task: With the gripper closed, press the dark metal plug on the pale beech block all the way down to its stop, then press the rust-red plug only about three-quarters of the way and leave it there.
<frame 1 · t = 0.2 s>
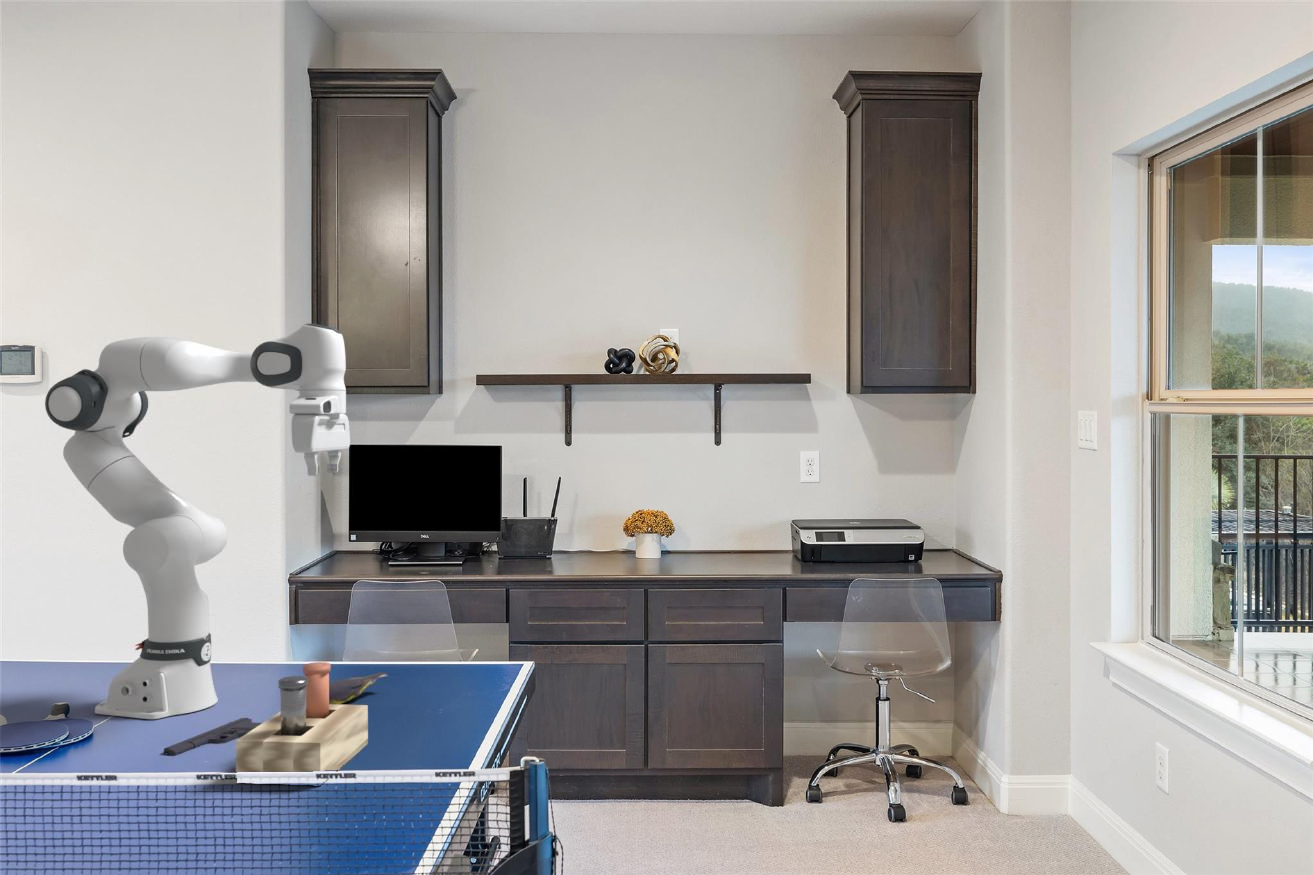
hand: (323, 474, 190), 48 cm above the table, tool pointing down, fingers open, 8 cm apart
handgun: (226, 745, 172), on the table
metal plug: (293, 709, 157), point 10 cm above the table, slide at 0.0 cm
beech block: (305, 762, 161), on the table
bird model: (346, 703, 196), on the table
rust plug: (316, 693, 166), point 10 cm above the table, slide at 0.0 cm
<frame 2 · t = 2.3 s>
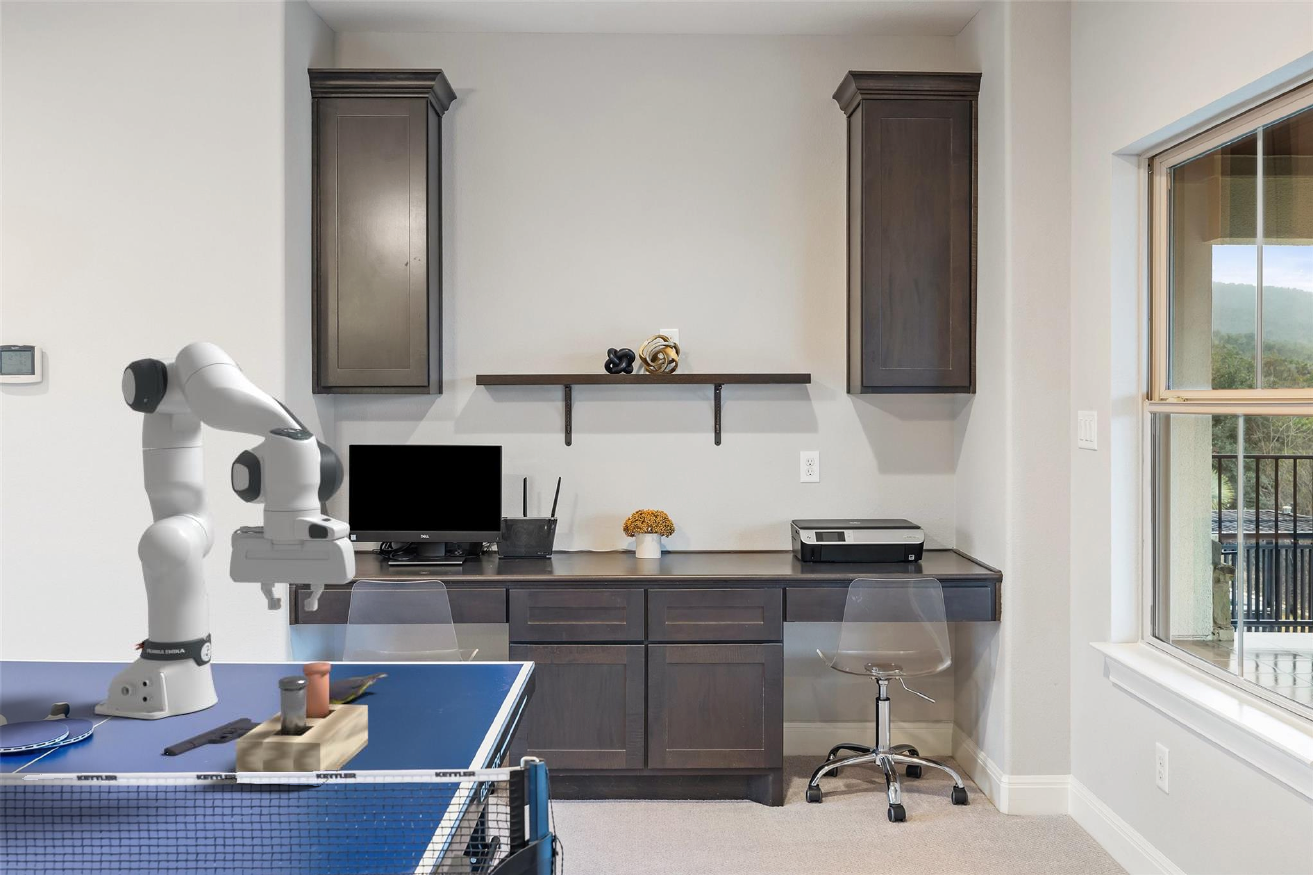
hand: (292, 609, 156), 27 cm above the table, tool pointing down, fingers open, 5 cm apart
nothing on the table moved.
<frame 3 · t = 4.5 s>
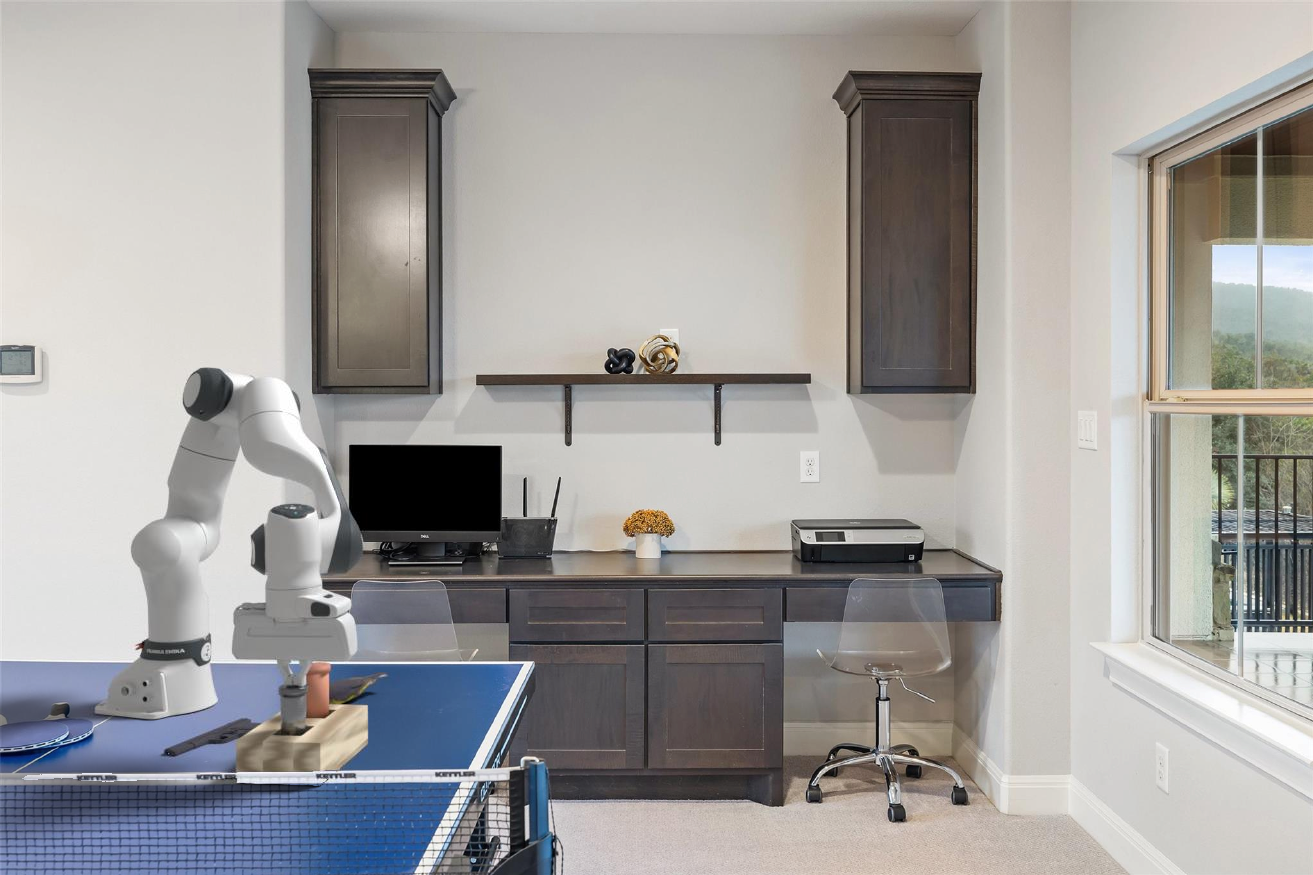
hand: (295, 685, 157), 14 cm above the table, tool pointing down, fingers closed
metal plug: (293, 716, 157), point 9 cm above the table, slide at 1.1 cm, touching gripper
everything else where it was.
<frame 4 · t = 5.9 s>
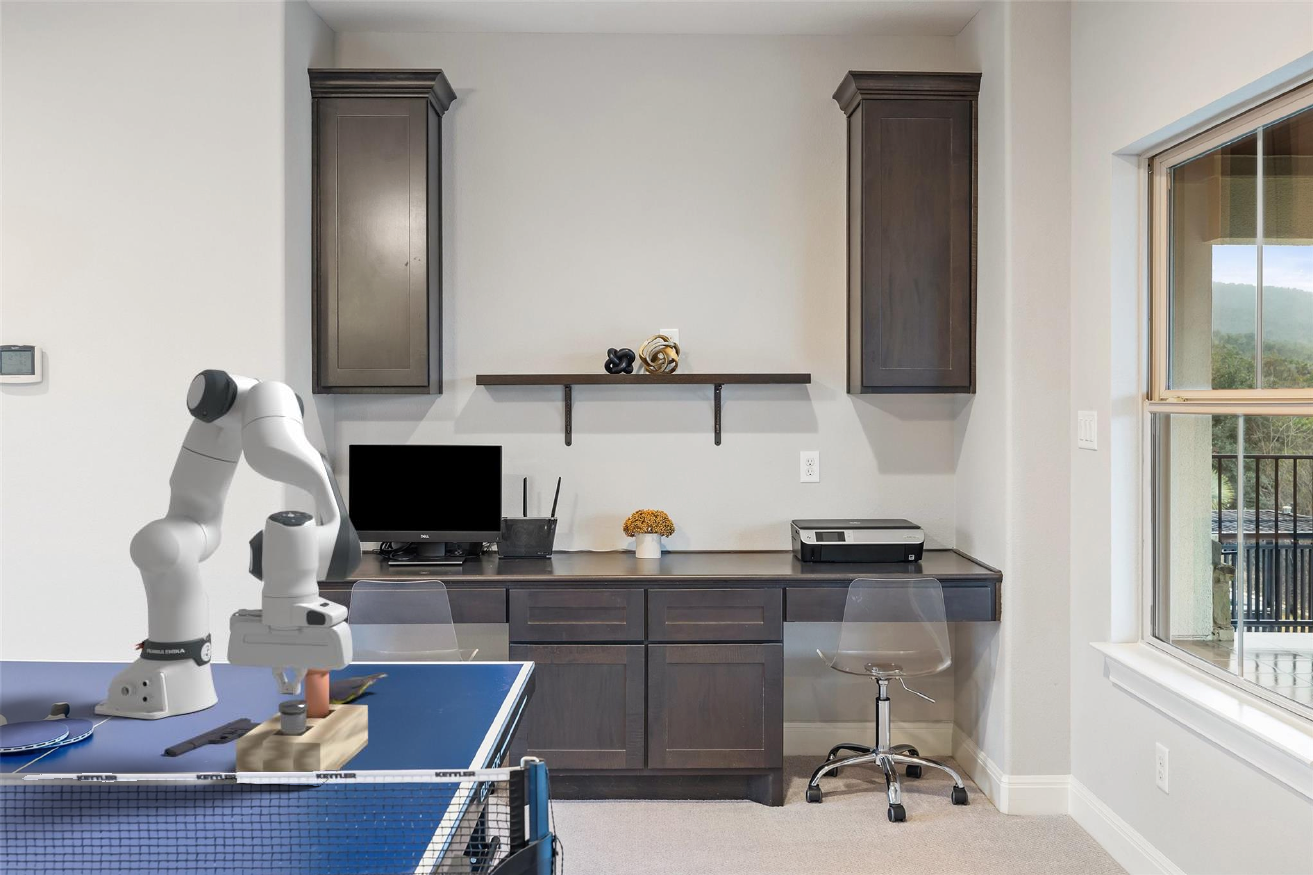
hand: (289, 693, 156), 13 cm above the table, tool pointing down, fingers closed
metal plug: (293, 733, 157), point 6 cm above the table, slide at 4.0 cm
everything else where it was.
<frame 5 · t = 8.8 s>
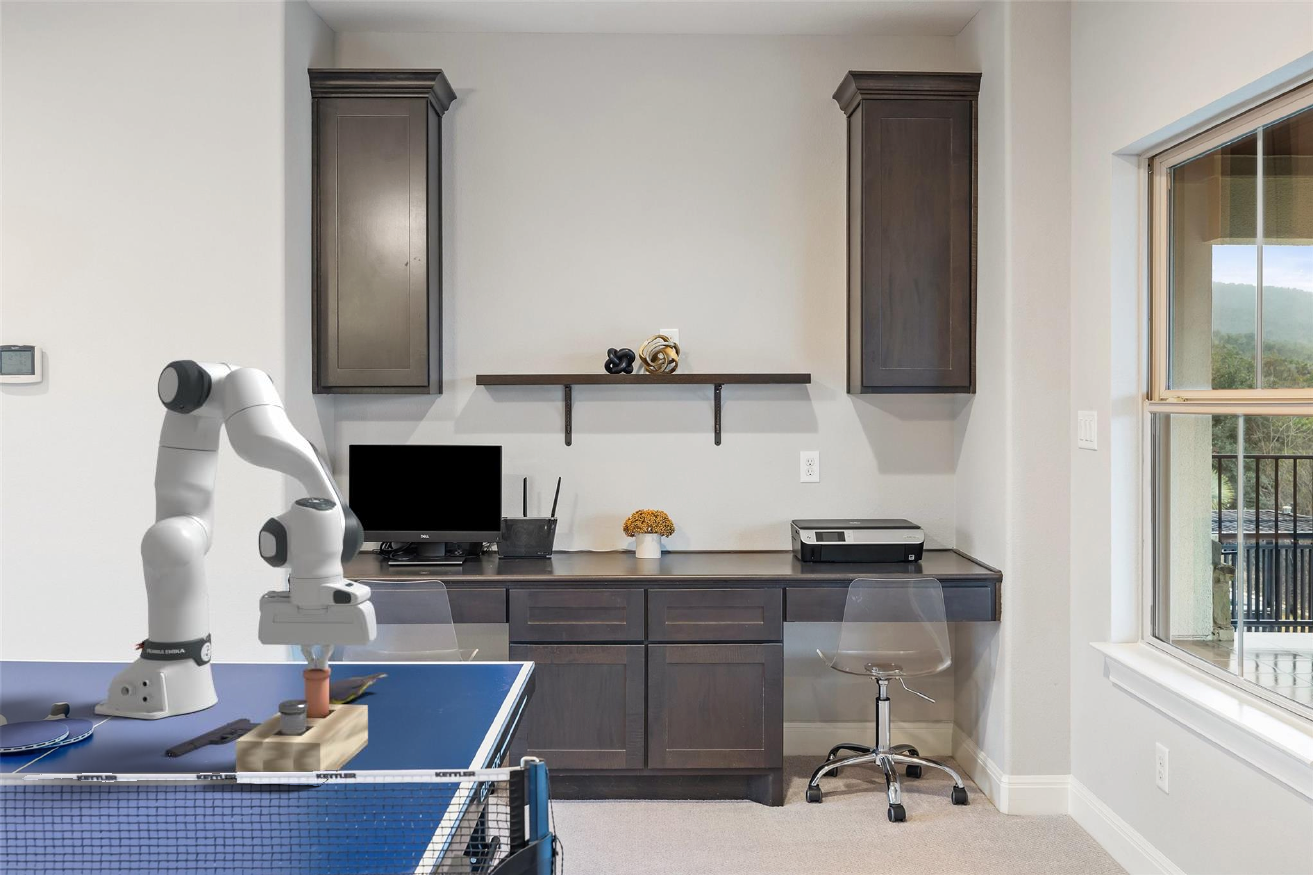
hand: (318, 669, 166), 15 cm above the table, tool pointing down, fingers closed
rust plug: (316, 698, 166), point 10 cm above the table, slide at 0.8 cm, touching gripper
everything else where it was.
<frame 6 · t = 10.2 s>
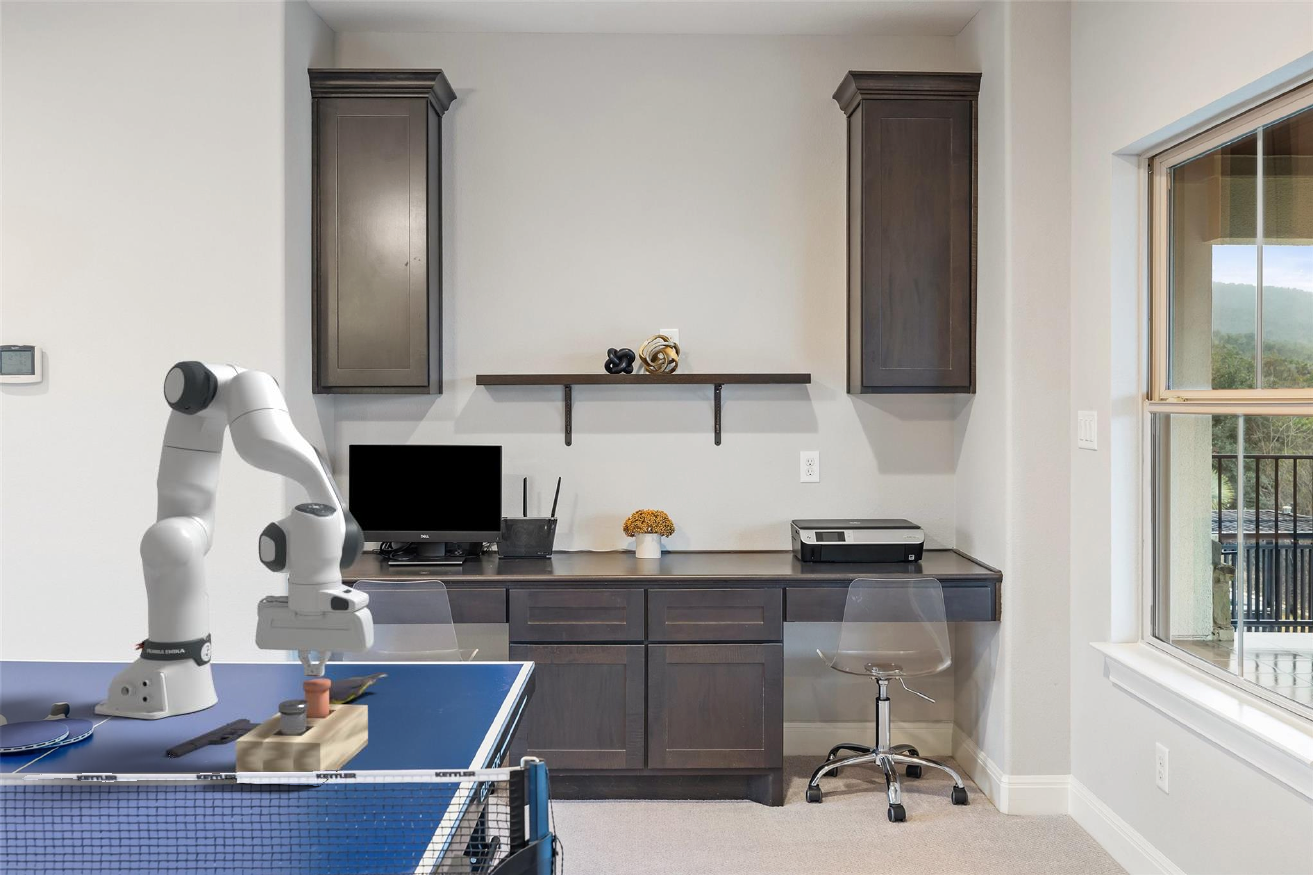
hand: (314, 675, 165), 14 cm above the table, tool pointing down, fingers closed
rust plug: (317, 710, 166), point 8 cm above the table, slide at 2.9 cm
everything else where it was.
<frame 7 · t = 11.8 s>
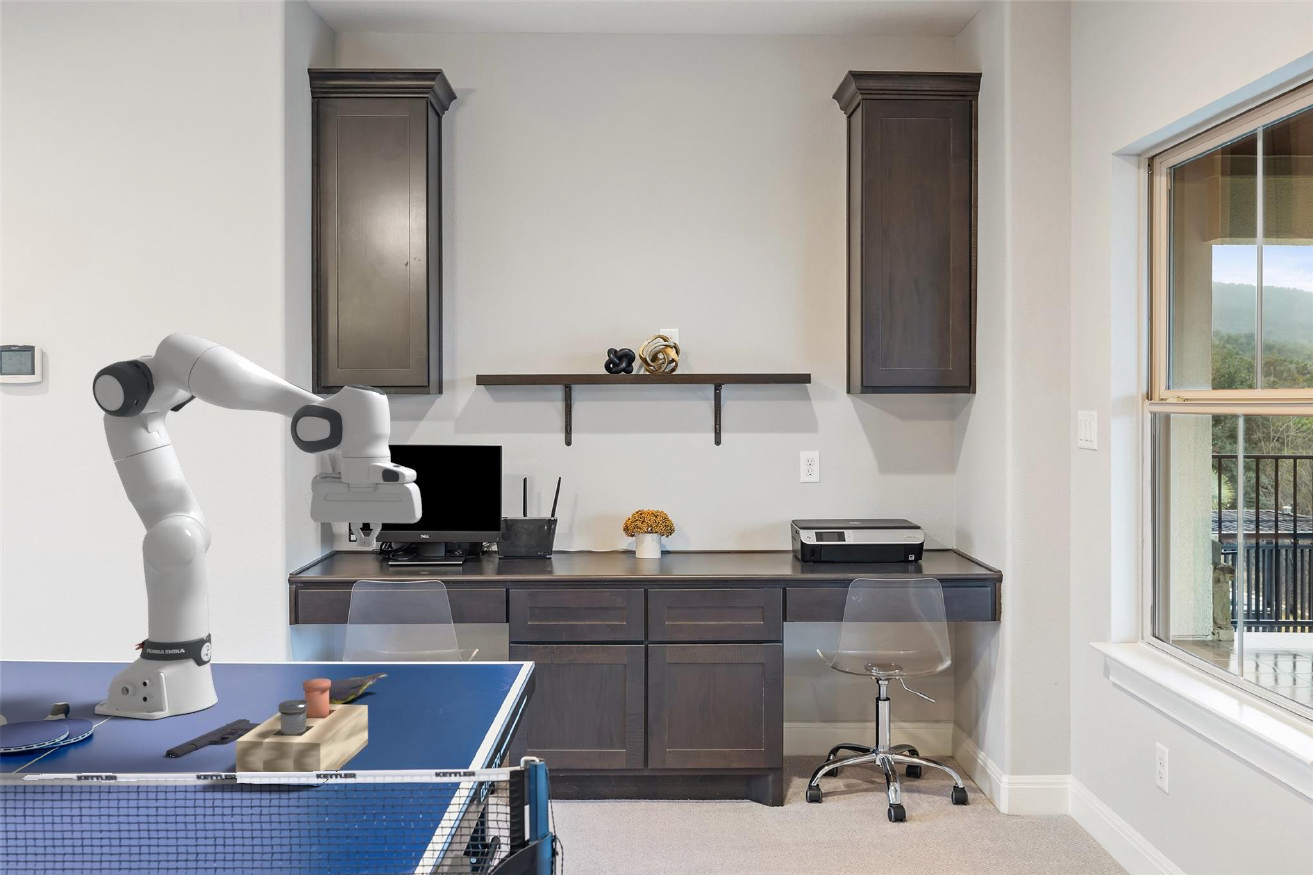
hand: (366, 546, 175), 35 cm above the table, tool pointing down, fingers closed
nothing on the table moved.
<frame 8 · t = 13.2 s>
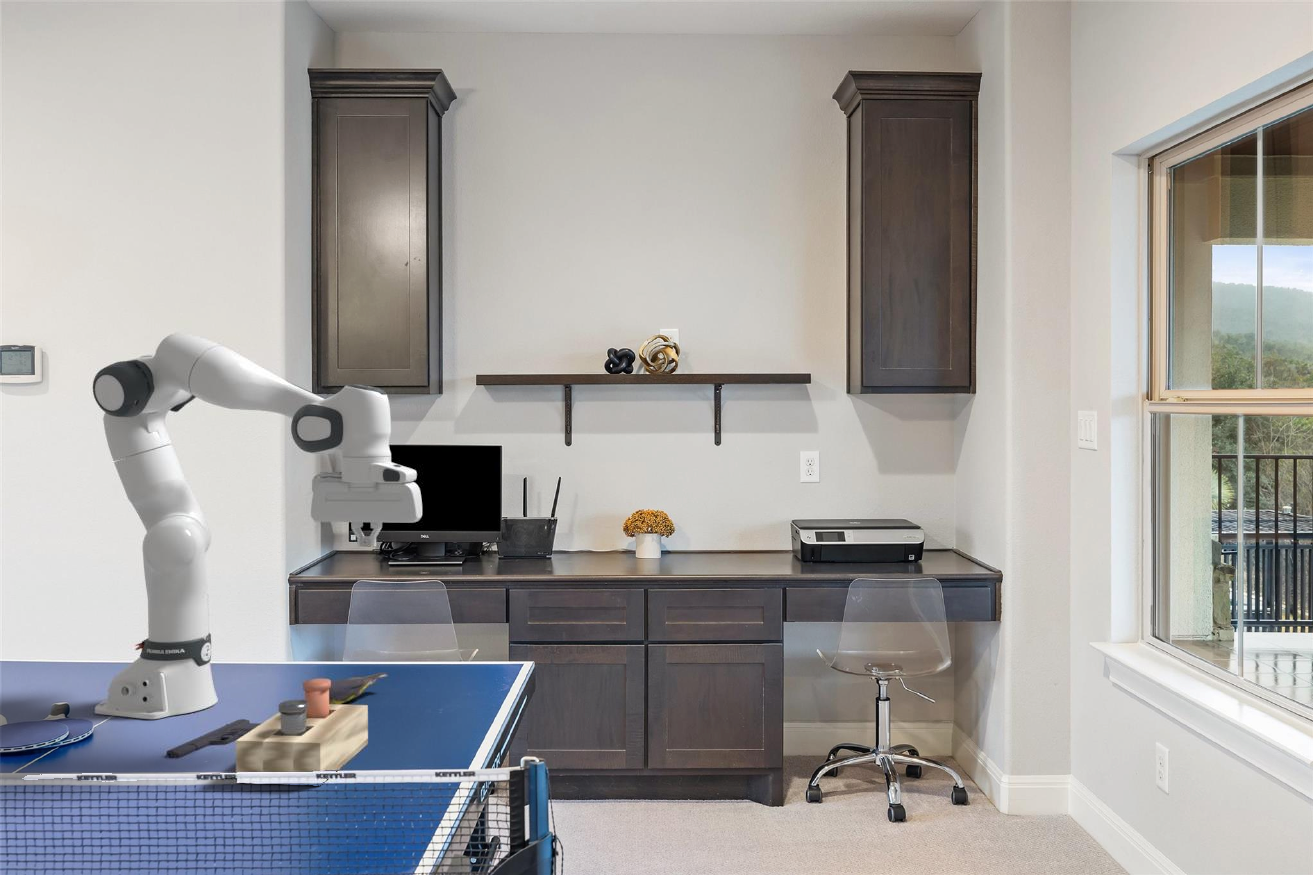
hand: (366, 546, 175), 35 cm above the table, tool pointing down, fingers closed
nothing on the table moved.
at the end: metal plug slide at 4.0 cm; rust plug slide at 2.9 cm; rust plug touching nothing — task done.
